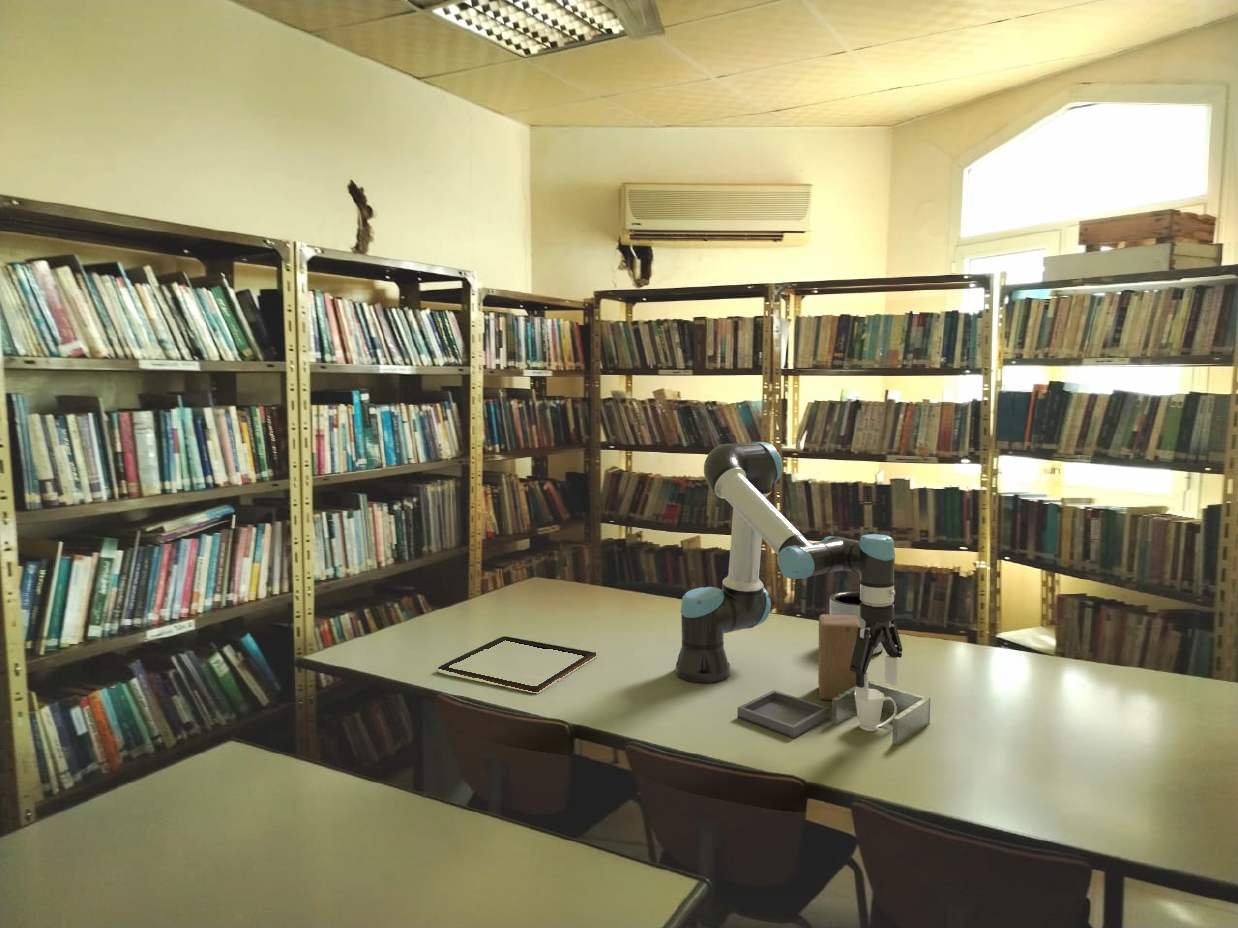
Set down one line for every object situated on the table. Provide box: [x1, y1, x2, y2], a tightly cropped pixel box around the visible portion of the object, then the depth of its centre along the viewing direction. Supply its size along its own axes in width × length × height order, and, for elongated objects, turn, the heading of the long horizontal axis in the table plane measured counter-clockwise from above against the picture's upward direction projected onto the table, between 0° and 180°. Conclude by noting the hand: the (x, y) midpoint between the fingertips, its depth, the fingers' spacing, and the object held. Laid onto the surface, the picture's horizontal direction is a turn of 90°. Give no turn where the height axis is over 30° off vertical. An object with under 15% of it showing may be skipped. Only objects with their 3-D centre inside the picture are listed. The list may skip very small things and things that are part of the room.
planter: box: [829, 591, 884, 656], centre depth 235 cm, size 16×16×16 cm
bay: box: [831, 680, 931, 746], centre depth 183 cm, size 16×16×6 cm
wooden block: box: [817, 613, 861, 701], centre depth 200 cm, size 10×10×20 cm
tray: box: [737, 689, 830, 739], centre depth 187 cm, size 16×15×3 cm
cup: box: [855, 689, 897, 732], centre depth 181 cm, size 7×10×8 cm
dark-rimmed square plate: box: [437, 636, 597, 692], centre depth 226 cm, size 38×35×3 cm
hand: (876, 691), depth 181 cm, fingers open, 13 cm apart
